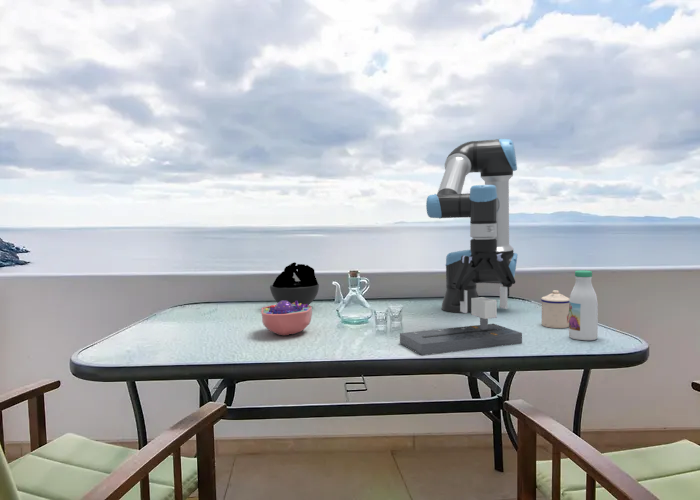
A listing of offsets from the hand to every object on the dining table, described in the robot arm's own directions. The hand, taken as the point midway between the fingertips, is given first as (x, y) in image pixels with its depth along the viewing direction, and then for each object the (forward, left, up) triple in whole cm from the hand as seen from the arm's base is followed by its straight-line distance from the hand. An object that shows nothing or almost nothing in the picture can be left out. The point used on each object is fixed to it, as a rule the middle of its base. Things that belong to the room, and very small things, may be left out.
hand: (484, 310), depth 150 cm
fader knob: (0, 0, -6) cm, 6 cm away
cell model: (-34, -52, -9) cm, 63 cm away
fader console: (0, -8, -9) cm, 12 cm away
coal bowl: (-76, -40, -9) cm, 86 cm away
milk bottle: (+9, +28, -9) cm, 31 cm away
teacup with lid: (-9, +33, -9) cm, 35 cm away
